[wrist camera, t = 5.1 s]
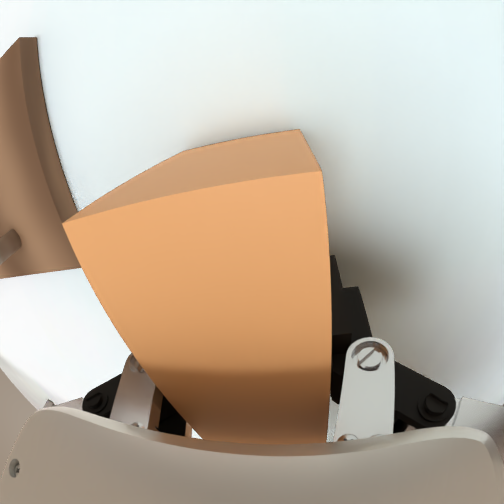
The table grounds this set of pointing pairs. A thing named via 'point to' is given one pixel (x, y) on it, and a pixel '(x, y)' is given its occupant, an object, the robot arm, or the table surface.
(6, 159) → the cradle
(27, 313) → the table surface
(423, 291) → the table surface
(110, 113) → the table surface
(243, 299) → the jaw block
